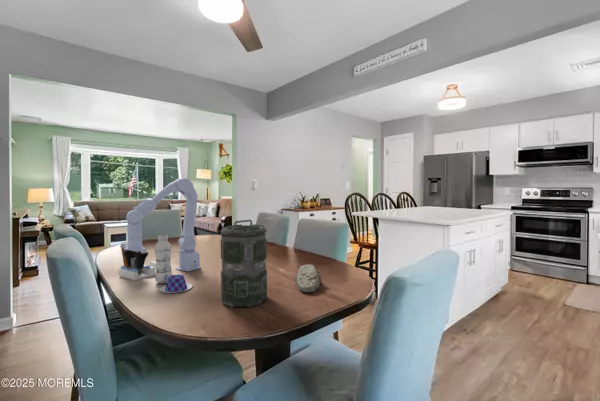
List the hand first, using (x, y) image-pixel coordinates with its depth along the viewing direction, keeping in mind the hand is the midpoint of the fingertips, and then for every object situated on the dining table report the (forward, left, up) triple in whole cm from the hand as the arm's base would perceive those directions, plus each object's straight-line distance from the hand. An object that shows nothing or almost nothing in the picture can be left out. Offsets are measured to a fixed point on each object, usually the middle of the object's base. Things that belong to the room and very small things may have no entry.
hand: (135, 267), depth 138 cm
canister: (-62, -4, -4) cm, 62 cm away
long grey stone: (-69, -35, -4) cm, 78 cm away
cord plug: (0, 0, -3) cm, 3 cm away
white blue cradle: (0, -4, -4) cm, 6 cm away
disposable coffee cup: (+19, -8, -4) cm, 21 cm away
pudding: (-31, +2, -4) cm, 31 cm away
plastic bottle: (-20, 0, -4) cm, 20 cm away
